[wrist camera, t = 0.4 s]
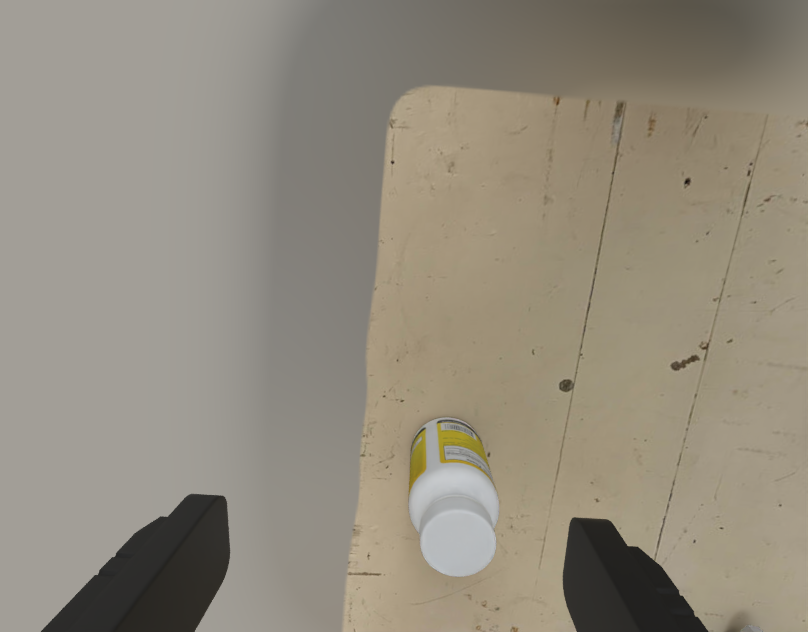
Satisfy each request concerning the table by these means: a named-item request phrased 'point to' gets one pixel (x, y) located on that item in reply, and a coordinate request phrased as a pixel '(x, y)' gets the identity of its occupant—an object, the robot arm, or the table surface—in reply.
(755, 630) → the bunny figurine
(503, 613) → the table surface
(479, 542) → the supplement bottle
